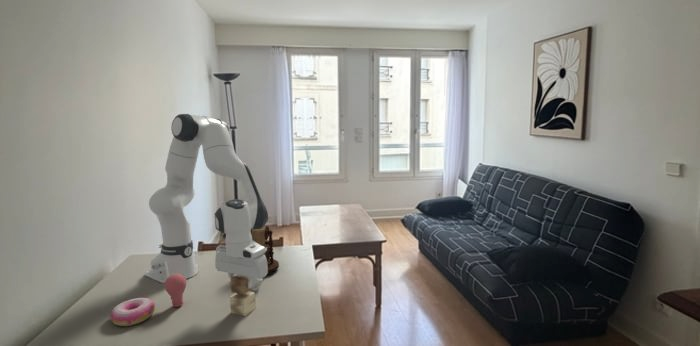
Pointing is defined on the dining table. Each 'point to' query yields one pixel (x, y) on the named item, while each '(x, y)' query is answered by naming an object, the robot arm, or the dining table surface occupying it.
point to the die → (256, 284)
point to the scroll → (260, 238)
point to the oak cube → (243, 303)
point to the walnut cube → (239, 284)
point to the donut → (132, 311)
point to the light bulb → (176, 288)
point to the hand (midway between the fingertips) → (242, 285)
